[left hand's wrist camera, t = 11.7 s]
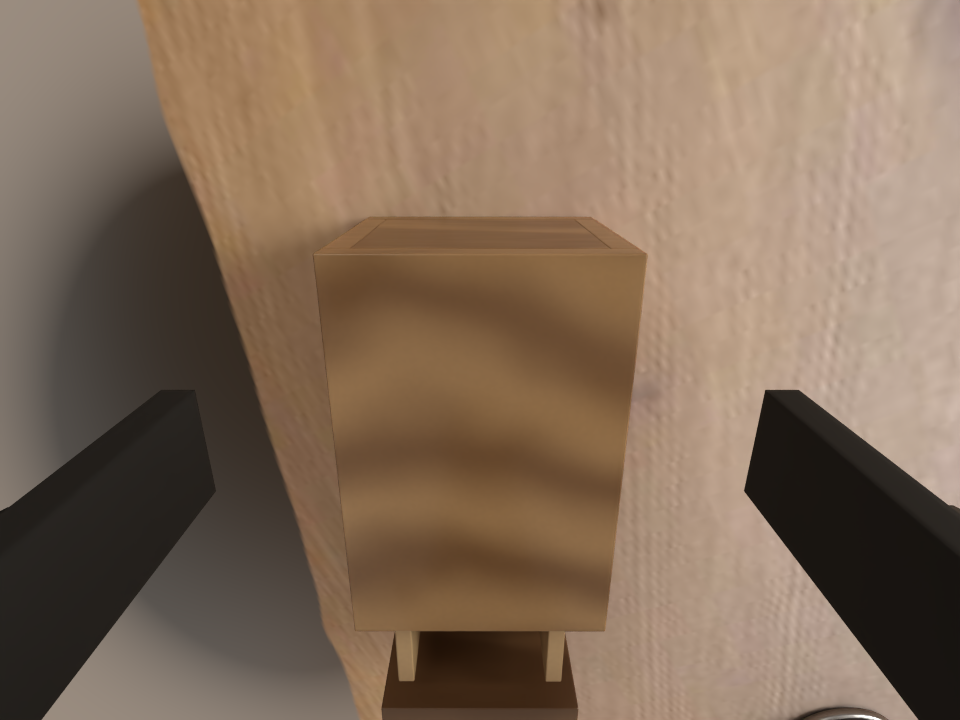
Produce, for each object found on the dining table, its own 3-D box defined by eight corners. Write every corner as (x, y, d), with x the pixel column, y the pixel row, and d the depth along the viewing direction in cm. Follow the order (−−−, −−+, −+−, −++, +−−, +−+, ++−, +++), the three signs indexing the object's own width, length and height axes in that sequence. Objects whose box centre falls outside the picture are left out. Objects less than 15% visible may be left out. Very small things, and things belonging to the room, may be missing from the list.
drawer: (552, 666, 38) (570, 793, 30) (407, 666, 38) (389, 793, 30) (571, 386, 30) (602, 465, 22) (388, 385, 30) (358, 465, 22)
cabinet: (570, 498, 34) (605, 631, 24) (389, 498, 34) (354, 631, 24) (591, 216, 27) (648, 253, 18) (368, 216, 27) (312, 253, 18)
